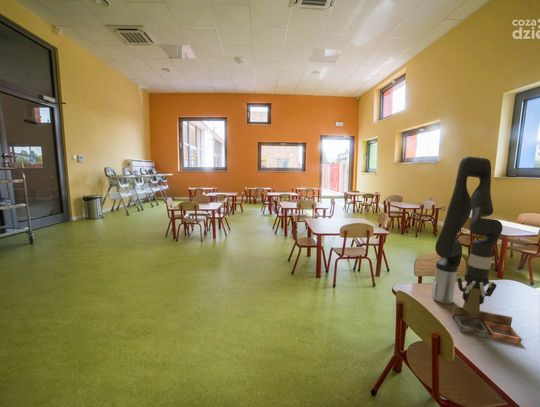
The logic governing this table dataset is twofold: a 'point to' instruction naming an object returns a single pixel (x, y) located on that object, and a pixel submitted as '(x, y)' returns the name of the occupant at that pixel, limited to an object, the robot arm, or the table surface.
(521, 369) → the table surface
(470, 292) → the cork
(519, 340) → the shaker rack
